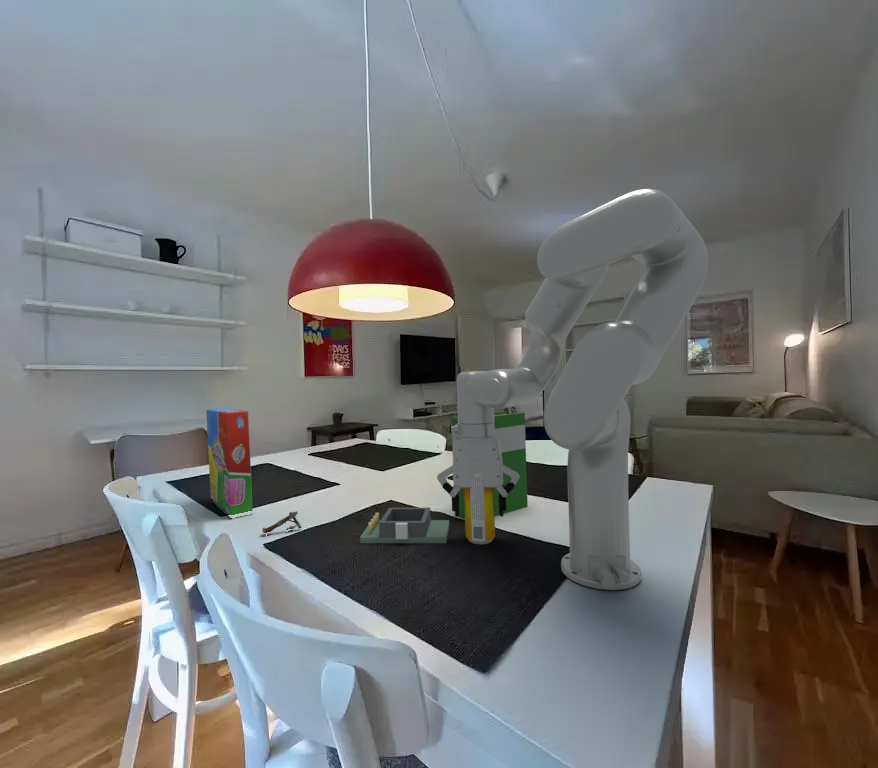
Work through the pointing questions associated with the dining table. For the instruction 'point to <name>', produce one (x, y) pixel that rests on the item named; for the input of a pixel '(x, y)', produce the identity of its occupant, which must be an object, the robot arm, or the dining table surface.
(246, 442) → the game box
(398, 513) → the header board
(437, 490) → the dining table surface
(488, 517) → the beer can
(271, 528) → the wooden post with brackets
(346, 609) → the dining table surface
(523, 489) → the green cereal box
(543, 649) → the dining table surface
